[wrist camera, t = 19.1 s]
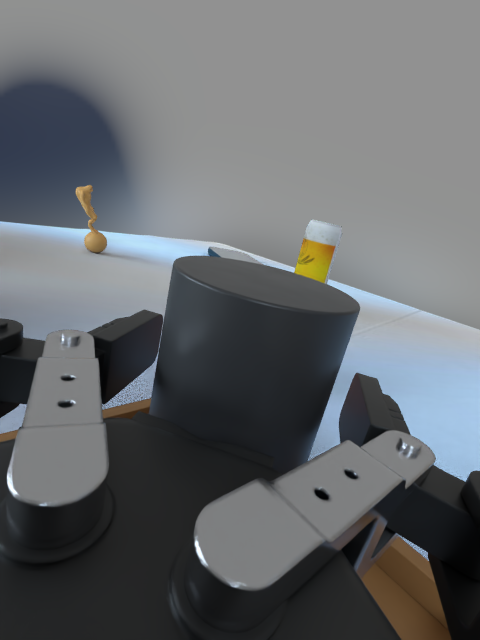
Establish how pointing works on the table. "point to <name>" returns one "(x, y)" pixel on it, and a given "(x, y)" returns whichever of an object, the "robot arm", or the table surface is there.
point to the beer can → (318, 250)
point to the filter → (250, 355)
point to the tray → (373, 573)
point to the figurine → (91, 221)
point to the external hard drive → (230, 254)
